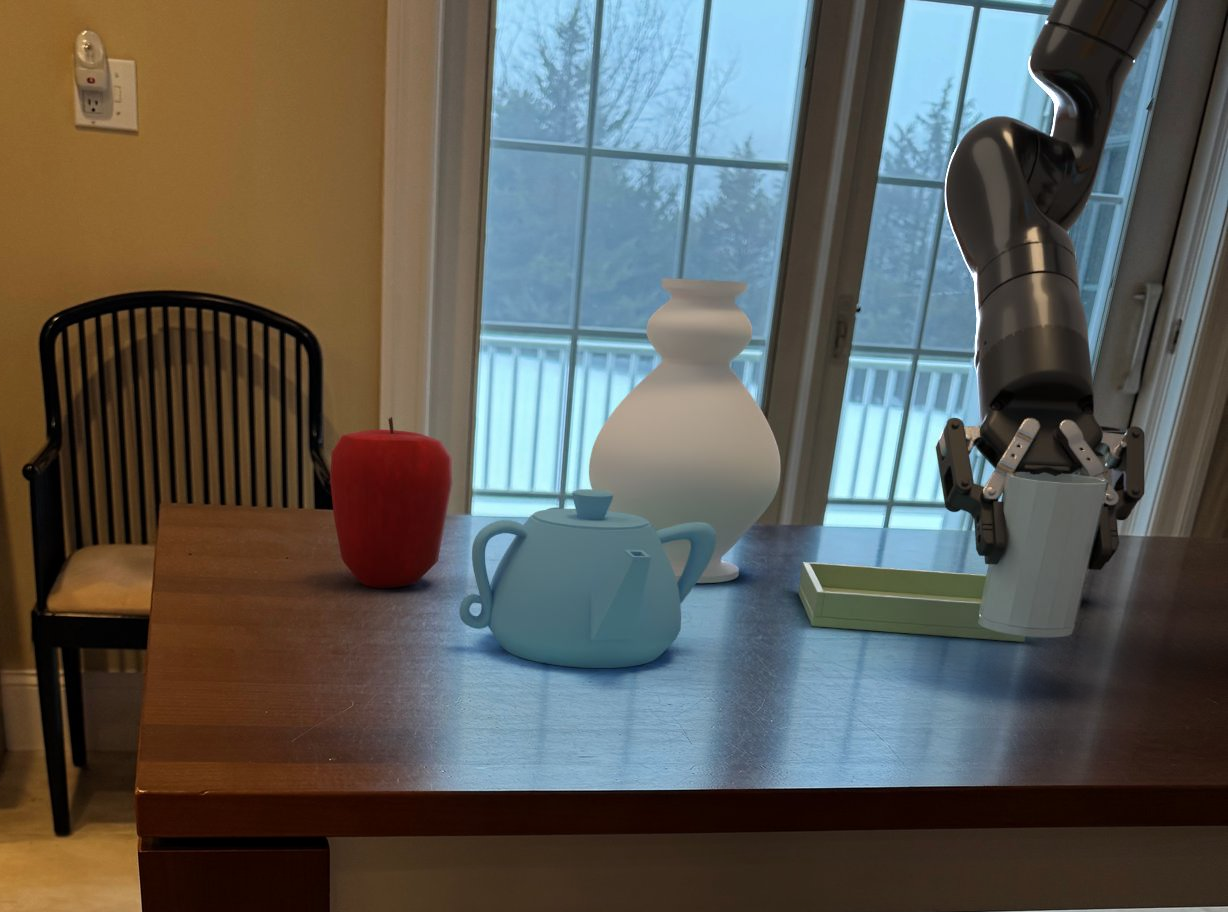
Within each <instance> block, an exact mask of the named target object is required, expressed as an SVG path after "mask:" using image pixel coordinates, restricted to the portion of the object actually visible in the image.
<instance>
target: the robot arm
mask: <svg viewBox="0 0 1228 912" xmlns="http://www.w3.org/2000/svg"><path fill="white" fill-rule="evenodd" d="M1167 3H1168V0H1055V2H1054V4H1053V5H1052V8H1051V9H1050V11H1049V14H1048V16H1047V18H1046V20H1045V24H1044V25H1043V26H1042V29H1041V30H1040V32H1039V34H1038V37H1037V38H1036V41H1035V43H1034V44H1033V47H1032V50H1031V52H1030V55H1029V59H1028V71H1029V74H1030V75H1031V77H1032V78H1033V79H1034V81H1035V82H1036V83H1037V84H1038V85H1039V86H1040V87H1041V88H1042V89H1043V90H1044V91H1045V92H1046V93H1047V94H1048V95H1049V97H1051V99H1052V101H1053V104H1054V116H1053V121H1052V123H1053V124H1052V128H1051V133H1050V134H1048V133H1046V132H1044V131H1042V130H1039V129H1038V128H1036V127H1034V126H1032V125H1030V124H1028V123H1026V122H1024V121H1022V120H1019V119H1017V118H1014V117H1010V116H1005V115H1001V116H999V115H998V116H997V115H996V116H991V117H988V118H986V119H984V120H981V121H979V122H978V123H977V124H975V125H974V126H973V127H971V128H970V129H969V130H968V131H967V133H965V134H964V136H963V137H962V138H961V139H960V140H959V143H958V144H957V146H956V148H955V149H954V152H953V153H952V155H951V158H950V161H949V164H948V168H947V171H946V176H945V183H944V184H945V185H944V203H945V208H946V214H947V217H948V221H949V224H950V227H951V230H952V233H953V235H954V238H955V240H956V242H957V245H958V247H959V250H960V252H961V255H962V258H963V260H964V262H965V264H966V266H967V268H968V270H969V272H970V274H971V277H972V279H973V281H974V298H975V309H976V310H975V311H976V331H975V332H976V333H975V341H974V357H973V359H974V365H973V366H974V368H975V372H976V383H977V384H976V385H977V386H976V387H977V399H978V412H979V413H978V415H979V424H980V425H974V426H973V425H972V426H971V425H970V426H969V425H968V426H965V424H964V421H963V420H962V419H960V418H958V417H950V418H949V419H948V420H947V421H946V423H945V425H944V427H943V429H942V432H941V434H940V436H939V438H938V441H937V443H936V444H935V453H936V459H937V465H938V469H939V470H938V471H939V476H940V483H941V488H942V495H943V501H944V507H945V509H946V510H948V511H949V512H951V513H958V512H960V511H963V512H967V513H969V514H970V516H971V518H972V519H973V522H974V538H975V550H976V552H977V554H978V556H979V557H983V558H984V563H985V565H989V564H993V565H997V564H998V562H999V560H1000V559H1001V557H1002V555H1003V554H1004V552H1005V549H1006V530H1005V516H1004V511H1003V502H1001V501H999V500H1000V499H1001V497H1002V495H1003V490H1004V485H1005V480H1006V475H1007V474H1008V473H1014V472H1018V471H1021V472H1030V474H1033V475H1035V474H1041V473H1048V474H1051V475H1054V476H1057V474H1058V475H1060V474H1062V473H1063V474H1066V473H1067V474H1078V472H1079V471H1080V475H1084V476H1089V477H1097V478H1102V479H1105V480H1107V479H1106V478H1105V476H1104V466H1103V464H1102V463H1101V462H1100V460H1099V459H1098V457H1097V456H1096V455H1095V451H1098V452H1100V453H1102V454H1103V455H1104V457H1105V461H1106V463H1107V464H1106V468H1107V469H1112V486H1111V484H1110V483H1109V484H1108V488H1107V493H1106V497H1105V501H1104V505H1103V510H1102V514H1101V518H1100V523H1099V527H1098V531H1097V536H1096V540H1095V544H1094V549H1093V553H1092V557H1091V561H1090V566H1089V569H1090V570H1093V571H1101V570H1102V569H1104V566H1105V565H1106V564H1107V563H1109V561H1110V560H1111V559H1112V558H1113V557H1114V555H1115V553H1116V552H1117V551H1118V548H1119V545H1120V538H1119V532H1118V531H1119V529H1118V521H1125V520H1127V519H1128V518H1129V517H1130V516H1131V514H1132V511H1133V510H1134V508H1136V507H1135V506H1136V505H1137V504H1138V502H1139V501H1141V500H1142V498H1143V497H1144V495H1145V432H1144V430H1143V429H1142V428H1141V427H1139V426H1135V425H1133V426H1130V427H1129V428H1127V429H1128V430H1127V432H1126V433H1125V434H1116V433H1107V432H1103V431H1102V428H1101V427H1100V426H1101V424H1099V423H1098V421H1097V419H1096V417H1095V411H1094V409H1095V393H1094V382H1093V372H1092V363H1091V351H1090V343H1089V341H1090V340H1089V333H1088V324H1087V323H1088V321H1087V317H1086V316H1087V315H1086V312H1085V309H1084V306H1083V301H1082V298H1081V289H1080V280H1079V279H1080V278H1079V271H1078V270H1079V269H1078V259H1077V254H1076V248H1075V245H1074V241H1073V239H1072V238H1071V236H1070V234H1069V231H1070V230H1071V229H1072V228H1073V227H1074V226H1075V224H1076V223H1077V222H1078V220H1079V219H1080V217H1081V216H1082V214H1083V212H1084V211H1085V209H1086V207H1087V205H1088V203H1089V200H1090V198H1091V196H1092V193H1093V190H1094V187H1095V183H1096V180H1097V177H1098V174H1099V169H1100V166H1101V164H1102V163H1101V162H1102V158H1103V155H1104V151H1105V148H1106V144H1107V140H1108V136H1109V133H1110V131H1111V127H1112V123H1113V120H1114V117H1115V114H1116V111H1117V107H1118V103H1119V101H1120V97H1121V94H1122V91H1123V89H1124V85H1125V83H1126V81H1127V79H1128V76H1129V74H1130V73H1131V70H1132V69H1133V68H1134V65H1135V62H1136V61H1137V59H1138V58H1139V56H1140V54H1141V52H1142V50H1143V49H1144V47H1145V44H1146V43H1147V41H1148V39H1149V37H1150V35H1151V33H1152V31H1153V29H1154V28H1155V25H1156V23H1157V22H1158V20H1159V18H1160V16H1161V14H1162V12H1163V10H1164V9H1165V7H1166V4H1167ZM974 447H975V448H976V449H977V451H978V452H979V453H980V454H981V455H982V456H983V457H984V459H986V461H987V462H988V463H989V464H990V465H991V466H992V467H993V468H994V470H993V472H992V473H991V474H990V477H989V478H988V480H987V481H986V483H985V485H984V486H983V485H980V484H977V483H975V481H974V480H975V479H974V475H973V469H972V464H971V457H970V455H971V453H972V451H973V449H974ZM1107 481H1108V480H1107ZM1090 570H1089V571H1090Z"/></svg>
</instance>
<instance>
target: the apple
mask: <svg viewBox="0 0 1228 912" xmlns="http://www.w3.org/2000/svg"><path fill="white" fill-rule="evenodd" d="M387 420H388V425H389V426H388V427H389V429H367V430H359V431H355V432H350V433H346V434H343V435H341V436H340V438H339V439H338V441H337V443H336V445H335V446H334V447H333V449H332V451H331V460H330V475H329V481H330V491H331V501H332V509H333V510H332V511H333V520H334V523H335V524H334V525H335V531H336V536H337V540H338V546H339V552H340V557H341V560H342V562H343V563H344V565H345V566H346V567H347V568H348V570H349V571H350V572H351V573H352V575H353V576H354V577H355V579H356V580H357V582H358V583H360V584H361V585H364V586H367V587H371V588H376V589H390V588H391V589H392V588H393V589H394V588H400V587H406V586H412V585H414V584H416V583H418V582H419V581H420V580H421V579H422V578H423V577H424V576H425V575H426V574H427V573H428V572H429V571H430V570H431V569H432V568H433V567H434V566H435V565H436V564H437V563H438V562H439V557H440V552H441V544H442V540H443V534H444V531H445V530H444V529H445V522H446V518H447V514H448V513H447V512H448V507H449V503H450V498H451V492H452V487H453V465H452V456H451V455H450V452H448V450H447V449H446V447H445V446H444V444H443V443H442V441H441V440H439V439H436V438H433V437H431V436H428V435H425V434H423V433H418V432H413V431H406V430H396V429H394V422H393V416H391V417H389V418H388V419H387Z"/></svg>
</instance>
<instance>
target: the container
mask: <svg viewBox="0 0 1228 912" xmlns="http://www.w3.org/2000/svg"><path fill="white" fill-rule="evenodd" d="M1108 484H1109V481H1107V480H1105V479H1102V478H1097V477H1089V476H1084V475H1078V474H1067V473H1066V474H1063V473H1062V474H1060V475H1058V474H1057V476H1054V475H1051V474H1048V473H1041V474H1035V475H1033V474H1030V472H1021V471H1018V472H1014V473H1008V474H1007V475H1006V480H1005V485H1004V490H1003V493H1002V495H1001V501H1000V502H1003V511H1004V516H1005V530H1006V549H1005V552H1004V554H1003V555H1002V557H1001V559H1000V560H999V562H998V564H997V565H993V564H987V565H988V566H987V570H986V574H985V575H986V580H985V585H984V590H983V595H982V600H981V605H980V610H979V619H978V623H979V625H981V626H982V627H984V628H987V629H990V630H993V631H997V632H1001V633H1005V634H1011V635H1018V636H1026V638H1027V637H1028V638H1041V639H1044V638H1045V639H1047V638H1048V639H1051V638H1052V639H1053V638H1065V637H1070V636H1072V635H1073V633H1074V631H1075V627H1076V624H1077V621H1078V617H1079V612H1080V609H1081V605H1082V600H1083V595H1084V591H1085V588H1086V583H1087V578H1088V575H1089V572H1088V570H1089V566H1090V561H1091V557H1092V553H1093V549H1094V544H1095V540H1096V536H1097V531H1098V527H1099V523H1100V518H1101V514H1102V510H1103V505H1104V501H1105V497H1106V493H1107V488H1108ZM1089 571H1090V570H1089ZM1087 574H1088V575H1087Z"/></svg>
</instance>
